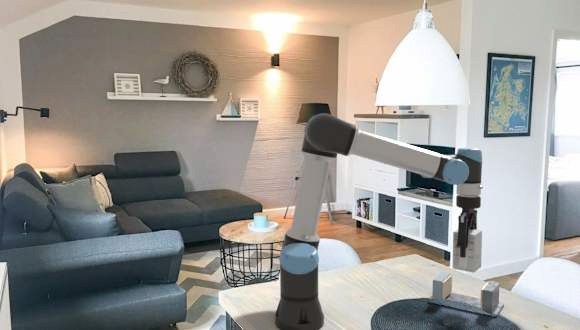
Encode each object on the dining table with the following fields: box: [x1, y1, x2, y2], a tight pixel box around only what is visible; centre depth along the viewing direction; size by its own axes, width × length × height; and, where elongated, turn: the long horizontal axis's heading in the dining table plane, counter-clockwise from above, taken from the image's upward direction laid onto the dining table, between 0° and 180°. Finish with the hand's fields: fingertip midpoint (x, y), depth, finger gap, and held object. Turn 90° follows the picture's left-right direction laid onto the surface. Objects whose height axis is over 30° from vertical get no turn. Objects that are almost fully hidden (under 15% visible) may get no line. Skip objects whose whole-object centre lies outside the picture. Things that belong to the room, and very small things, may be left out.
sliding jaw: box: [431, 271, 453, 300], centre depth 165 cm, size 10×4×7 cm, turn 145°
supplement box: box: [452, 229, 483, 274], centre depth 159 cm, size 7×7×13 cm
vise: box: [428, 280, 505, 316], centre depth 161 cm, size 11×22×8 cm, turn 55°
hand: (466, 263), depth 160 cm, fingers closed on supplement box, 7 cm apart
